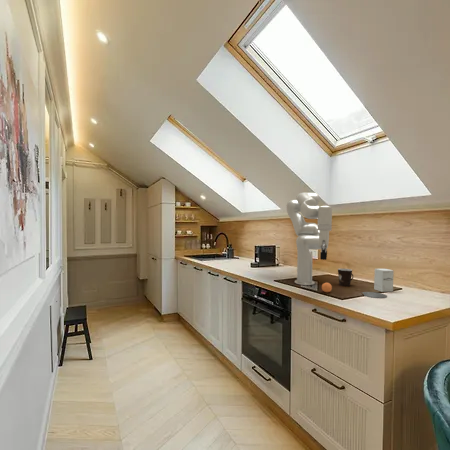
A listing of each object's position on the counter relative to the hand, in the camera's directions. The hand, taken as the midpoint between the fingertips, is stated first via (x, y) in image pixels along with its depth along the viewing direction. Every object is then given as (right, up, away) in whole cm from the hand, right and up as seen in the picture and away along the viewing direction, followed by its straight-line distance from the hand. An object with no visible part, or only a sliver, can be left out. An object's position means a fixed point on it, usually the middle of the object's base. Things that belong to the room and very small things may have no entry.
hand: (323, 258), depth 165 cm
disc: (+27, -20, -2) cm, 34 cm away
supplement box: (+39, -20, +9) cm, 45 cm away
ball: (+3, -17, +3) cm, 17 cm away
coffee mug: (+21, -20, +21) cm, 36 cm away
